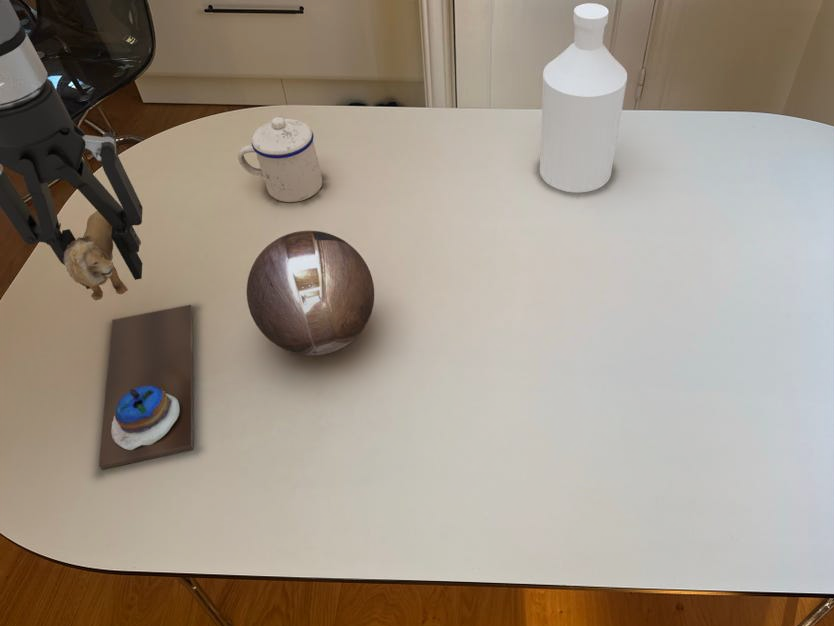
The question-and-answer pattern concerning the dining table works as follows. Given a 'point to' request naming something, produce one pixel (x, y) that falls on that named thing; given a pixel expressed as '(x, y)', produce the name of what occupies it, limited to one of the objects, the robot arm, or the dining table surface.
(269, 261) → the wooden sphere
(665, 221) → the dining table surface
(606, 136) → the bottle
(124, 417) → the dessert
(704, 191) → the dining table surface
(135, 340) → the walnut board
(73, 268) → the lion figurine
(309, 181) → the teacup with lid
